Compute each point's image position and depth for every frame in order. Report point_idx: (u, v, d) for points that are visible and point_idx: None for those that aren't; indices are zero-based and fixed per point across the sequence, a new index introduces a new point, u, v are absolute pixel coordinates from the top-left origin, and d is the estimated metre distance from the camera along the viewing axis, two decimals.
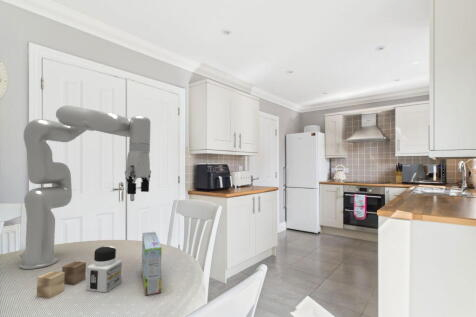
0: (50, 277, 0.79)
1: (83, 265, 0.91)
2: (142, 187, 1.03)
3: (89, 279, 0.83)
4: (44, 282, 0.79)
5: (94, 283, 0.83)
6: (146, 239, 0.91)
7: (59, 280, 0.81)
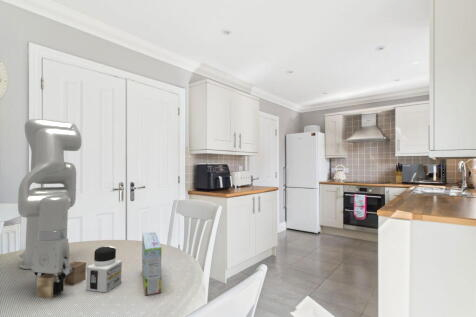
0: (50, 277, 0.79)
1: (83, 265, 0.91)
2: None
3: (89, 279, 0.83)
4: (44, 282, 0.79)
5: (94, 283, 0.83)
6: (146, 239, 0.91)
7: None
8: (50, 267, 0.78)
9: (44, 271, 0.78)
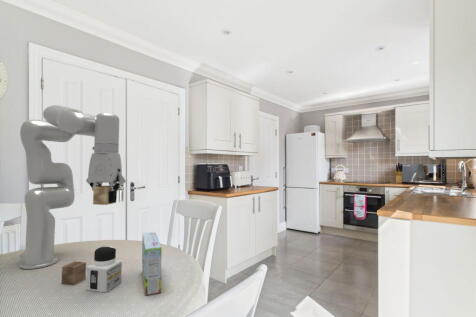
0: (105, 186, 0.85)
1: (83, 265, 0.91)
2: None
3: (89, 279, 0.83)
4: (100, 190, 0.85)
5: (94, 283, 0.83)
6: (146, 239, 0.91)
7: None
8: (106, 176, 0.84)
9: (100, 180, 0.85)
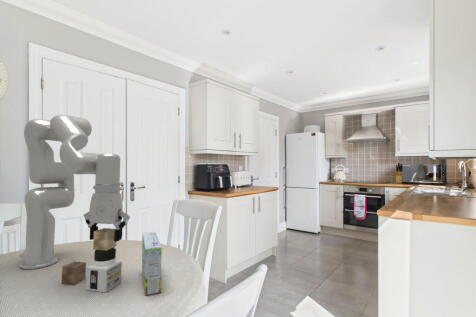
0: (106, 231, 0.85)
1: (83, 265, 0.91)
2: (93, 234, 0.87)
3: (89, 279, 0.83)
4: (101, 235, 0.85)
5: (94, 283, 0.83)
6: (146, 239, 0.91)
7: (113, 235, 0.87)
8: (107, 217, 0.84)
9: (101, 221, 0.84)
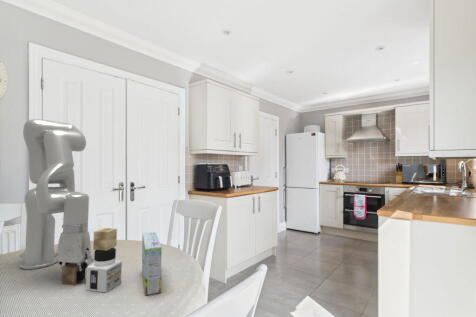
0: (106, 231, 0.85)
1: None
2: None
3: (89, 279, 0.83)
4: (101, 235, 0.85)
5: (94, 283, 0.83)
6: (146, 239, 0.91)
7: (113, 235, 0.87)
8: (74, 257, 0.87)
9: (68, 261, 0.87)
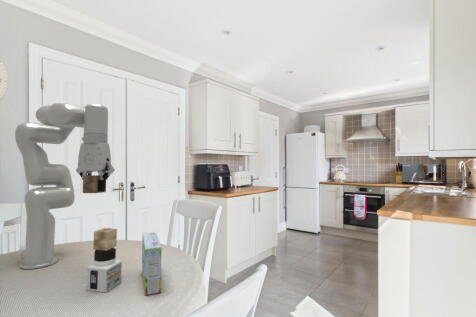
0: (106, 231, 0.85)
1: None
2: None
3: (89, 279, 0.83)
4: (101, 235, 0.85)
5: (94, 283, 0.83)
6: (146, 239, 0.91)
7: (113, 235, 0.87)
8: (95, 165, 0.86)
9: (90, 169, 0.86)
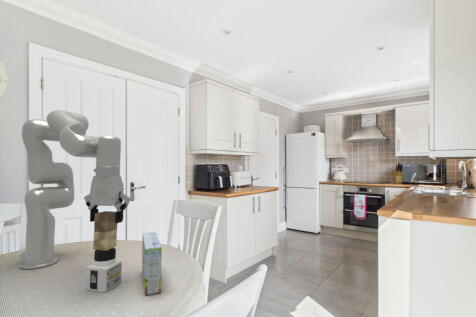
0: None
1: None
2: (93, 216, 0.87)
3: (89, 279, 0.83)
4: (101, 235, 0.85)
5: (94, 283, 0.83)
6: (146, 239, 0.91)
7: (113, 235, 0.87)
8: (108, 199, 0.84)
9: (102, 203, 0.85)
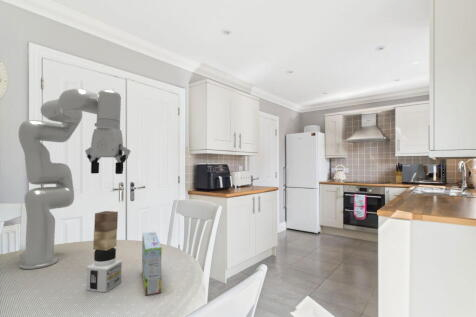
0: None
1: (115, 214, 0.88)
2: (94, 168, 0.90)
3: (89, 279, 0.83)
4: (101, 235, 0.85)
5: (94, 283, 0.83)
6: (146, 239, 0.91)
7: (113, 235, 0.87)
8: (108, 150, 0.87)
9: (102, 154, 0.88)
